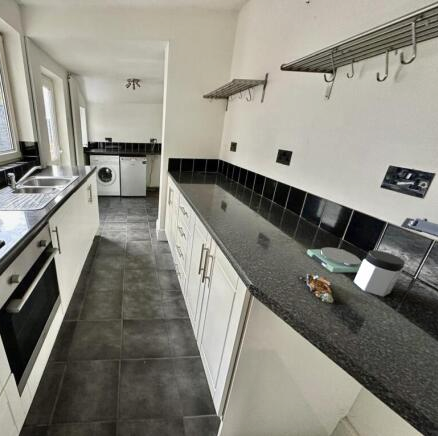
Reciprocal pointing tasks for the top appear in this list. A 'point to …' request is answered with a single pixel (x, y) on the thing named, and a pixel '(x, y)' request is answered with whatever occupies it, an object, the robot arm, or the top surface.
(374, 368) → the top surface
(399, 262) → the jar
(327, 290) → the pastry
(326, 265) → the kitchen scale
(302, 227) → the top surface
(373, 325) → the top surface
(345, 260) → the weighing pan
